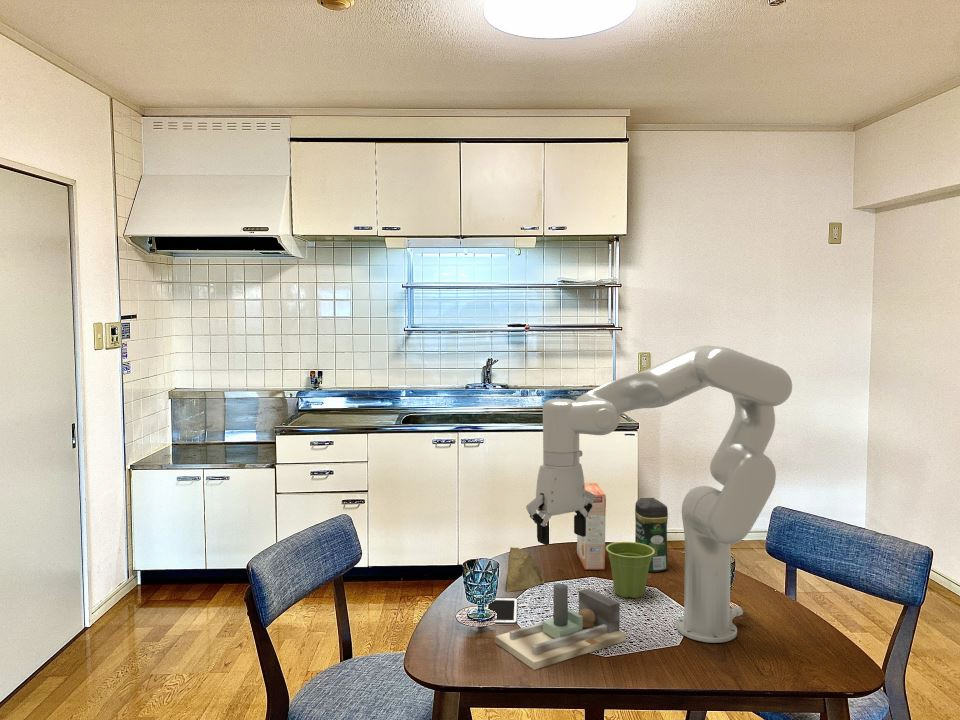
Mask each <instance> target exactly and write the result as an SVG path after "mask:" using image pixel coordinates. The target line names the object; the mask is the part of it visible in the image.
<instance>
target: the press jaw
mask: <svg viewBox="0 0 960 720" xmlns="http://www.w3.org/2000/svg"><path fill="white" fill-rule="evenodd" d="M568 589H569V587H568V584H564V583H556V584H553V591H552V592H553V595H552V597H553V603H552V605H553V610H552V611H553V618H550V619H545V620H542V622H543V632H545V633H547V634H548V635H550V636H551V637H553V638H555V639H556V638H560V637H563V636H566V635H570V634H573V633H576V632H580V631H583V616H581V615H579V614H577V613H576V612H575V611H573V610H572V609H569V606H568V605H569V603H568V602H569V600H568V599H569V597H568V596H569V590H568Z"/></svg>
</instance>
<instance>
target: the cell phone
mask: <svg viewBox="0 0 960 720" xmlns="http://www.w3.org/2000/svg"><path fill="white" fill-rule="evenodd" d="M518 605H519V604H518V598H517V597H513V596H512V597H507V596H506V597H505V596H504V597H501V596H499V597H498V596H496V599H495V601H494V602H492V603H490V604H488V605H487V608H488V609H490V610H493V611H495V612H496V613H497V619H495V621H494V622H490V623H496V624H516V623H517V624H518V608H519V607H518ZM517 607H518V608H517ZM517 624H516V625H517Z"/></svg>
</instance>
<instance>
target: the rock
mask: <svg viewBox="0 0 960 720" xmlns="http://www.w3.org/2000/svg"><path fill="white" fill-rule="evenodd" d="M509 548H510V549H509V555H508V561H507V562H508V563H507V564H508V565H507V574H506V582H505V591H506V593H510V592H515V591H517V592H518V591H523V590H527V589H531V588H532V587H536V586H539V585H542V584H545V579H544V576H543V573H542V570H541V568H540V566H539V565H537V563H536V561H535V560H534V559H533V557H532V556H531V554H530V553H528V552H526V551H525V550H523V549H522V548H520V547H512V546H511V547H509Z"/></svg>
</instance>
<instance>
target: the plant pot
mask: <svg viewBox="0 0 960 720" xmlns="http://www.w3.org/2000/svg"><path fill="white" fill-rule="evenodd" d="M605 551H606V552H607V553H608V559H609V562H610V569H611V575H612V581H613V591H614V593H615V595H617V596H619V597H622V598H631V599H638V598H641V597H643V596H644V595H645V591H646V588H647V581H648V575H649V572H650V571H649V566H650V563H651V559H652V555H653V554H654V553H655V550H654V549H653V548H652V547H650V546H648V545H645V544H641V543H635V542H632V541H619V542H618V541H617V542H612V543H609V544H607V545H605Z"/></svg>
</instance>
